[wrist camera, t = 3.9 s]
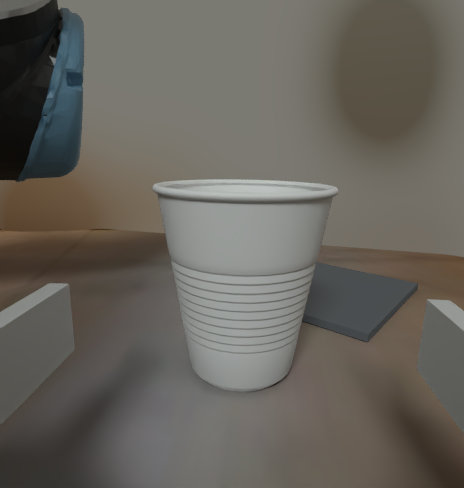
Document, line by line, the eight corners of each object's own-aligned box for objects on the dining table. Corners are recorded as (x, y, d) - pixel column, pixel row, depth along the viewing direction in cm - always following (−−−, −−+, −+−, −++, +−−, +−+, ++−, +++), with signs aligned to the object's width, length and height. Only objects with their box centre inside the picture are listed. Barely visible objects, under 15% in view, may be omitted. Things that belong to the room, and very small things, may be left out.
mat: (202, 288, 35) (202, 282, 35) (279, 259, 46) (279, 254, 45) (367, 342, 25) (368, 334, 25) (417, 289, 36) (418, 283, 36)
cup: (125, 366, 22) (114, 183, 19) (233, 316, 29) (236, 177, 27) (253, 455, 15) (262, 198, 13) (351, 362, 23) (369, 186, 20)
